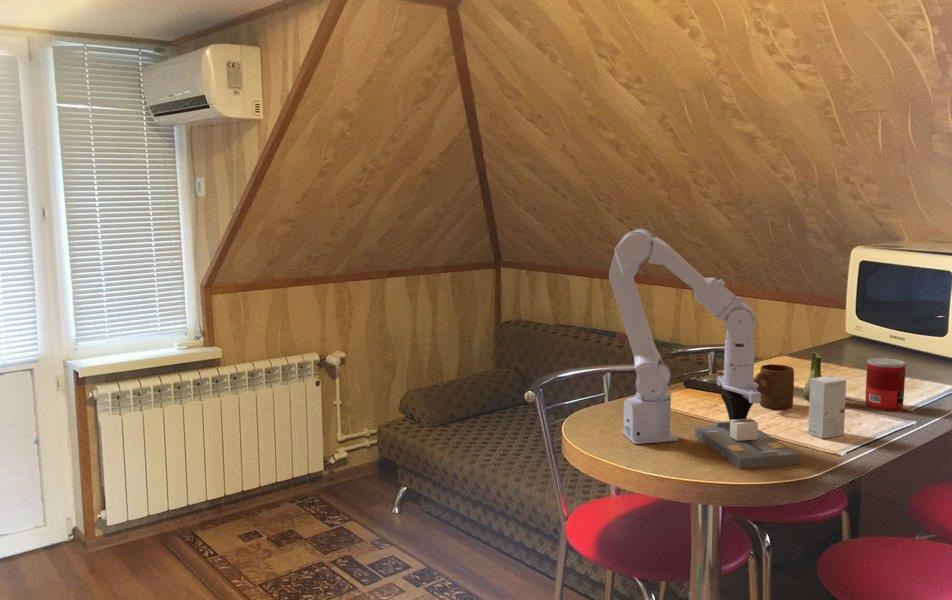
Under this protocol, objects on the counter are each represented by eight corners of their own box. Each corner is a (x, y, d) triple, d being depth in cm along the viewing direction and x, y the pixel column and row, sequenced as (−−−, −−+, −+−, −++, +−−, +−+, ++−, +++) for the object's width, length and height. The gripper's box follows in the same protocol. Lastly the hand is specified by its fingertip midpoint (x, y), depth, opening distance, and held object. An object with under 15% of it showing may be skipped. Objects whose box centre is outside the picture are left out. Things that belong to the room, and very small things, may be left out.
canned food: (905, 412, 181) (908, 365, 180) (867, 409, 184) (869, 363, 182) (899, 403, 188) (902, 358, 187) (862, 401, 191) (865, 356, 189)
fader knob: (736, 440, 157) (737, 423, 156) (729, 436, 160) (730, 419, 159) (757, 439, 158) (758, 422, 157) (750, 434, 161) (750, 418, 160)
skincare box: (822, 439, 163) (825, 382, 162) (806, 433, 168) (808, 378, 166) (845, 435, 166) (848, 379, 164) (828, 429, 170) (831, 375, 168)
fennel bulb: (820, 405, 188) (822, 356, 186) (799, 402, 191) (801, 353, 189) (827, 400, 193) (829, 351, 191) (806, 396, 196) (808, 349, 194)
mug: (768, 416, 181) (769, 375, 179) (740, 408, 187) (741, 369, 185) (799, 406, 187) (801, 368, 186) (771, 400, 194) (772, 362, 192)
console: (739, 468, 148) (740, 454, 148) (694, 435, 168) (695, 423, 167) (799, 464, 150) (799, 450, 149) (747, 432, 169) (748, 419, 169)
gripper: (776, 370, 153) (773, 437, 155) (740, 354, 167) (738, 416, 169) (742, 372, 152) (740, 440, 154) (708, 356, 166) (707, 418, 168)
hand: (737, 428), depth 161 cm, fingers closed
